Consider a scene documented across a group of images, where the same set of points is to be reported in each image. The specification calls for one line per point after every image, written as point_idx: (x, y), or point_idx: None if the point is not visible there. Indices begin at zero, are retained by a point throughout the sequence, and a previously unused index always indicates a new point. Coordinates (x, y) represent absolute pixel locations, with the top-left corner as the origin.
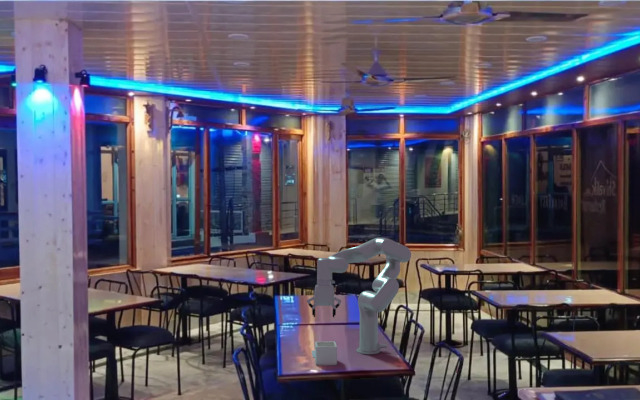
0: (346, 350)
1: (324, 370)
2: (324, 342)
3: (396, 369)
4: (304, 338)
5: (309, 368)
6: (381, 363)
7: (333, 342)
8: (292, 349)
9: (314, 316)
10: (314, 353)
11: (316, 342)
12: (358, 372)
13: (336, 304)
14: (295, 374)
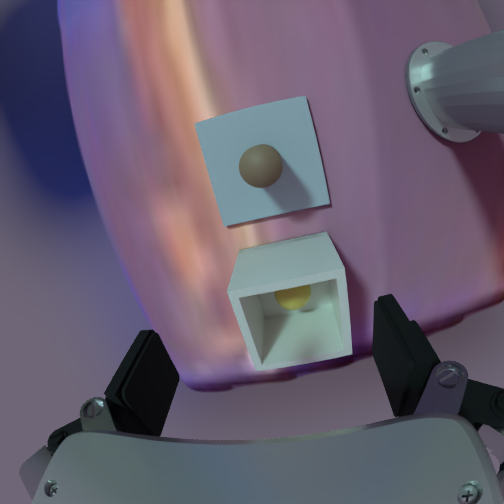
0: (361, 71)
1: None
2: (283, 287)
3: (491, 299)
4: None
5: (243, 343)
6: (477, 251)
7: (335, 276)
8: (108, 112)
9: (173, 383)
10: (218, 168)
11: (240, 307)
12: None
13: (482, 420)
14: (217, 386)
